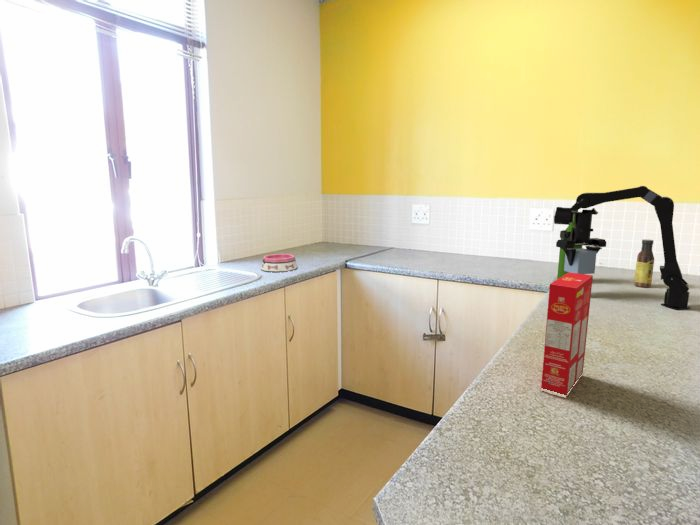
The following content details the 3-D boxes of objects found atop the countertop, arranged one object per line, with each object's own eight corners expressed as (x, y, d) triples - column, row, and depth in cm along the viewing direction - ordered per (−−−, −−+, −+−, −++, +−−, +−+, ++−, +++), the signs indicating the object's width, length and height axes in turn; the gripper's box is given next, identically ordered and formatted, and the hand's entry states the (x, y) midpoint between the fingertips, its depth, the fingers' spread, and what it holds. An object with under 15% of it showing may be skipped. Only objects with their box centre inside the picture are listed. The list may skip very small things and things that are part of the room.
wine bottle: (582, 283, 201) (590, 208, 194) (562, 283, 201) (568, 208, 194) (573, 278, 209) (580, 207, 203) (553, 278, 210) (559, 207, 203)
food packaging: (559, 369, 114) (568, 272, 109) (582, 375, 111) (592, 275, 106) (540, 391, 103) (549, 284, 98) (565, 398, 100) (576, 288, 95)
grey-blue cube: (594, 273, 178) (596, 251, 177) (577, 274, 177) (579, 252, 175) (580, 269, 186) (582, 248, 184) (564, 270, 184) (565, 249, 182)
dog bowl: (258, 266, 240) (258, 254, 238) (293, 264, 245) (293, 252, 244) (263, 274, 223) (262, 260, 221) (300, 271, 228) (300, 258, 227)
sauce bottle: (650, 288, 191) (656, 241, 187) (632, 286, 195) (638, 240, 191) (651, 285, 196) (657, 239, 192) (634, 283, 200) (640, 238, 196)
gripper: (588, 222, 188) (584, 259, 191) (548, 224, 183) (545, 262, 186) (609, 225, 177) (605, 265, 180) (567, 227, 173) (564, 267, 176)
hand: (579, 264), depth 181 cm, fingers closed on grey-blue cube, 8 cm apart
